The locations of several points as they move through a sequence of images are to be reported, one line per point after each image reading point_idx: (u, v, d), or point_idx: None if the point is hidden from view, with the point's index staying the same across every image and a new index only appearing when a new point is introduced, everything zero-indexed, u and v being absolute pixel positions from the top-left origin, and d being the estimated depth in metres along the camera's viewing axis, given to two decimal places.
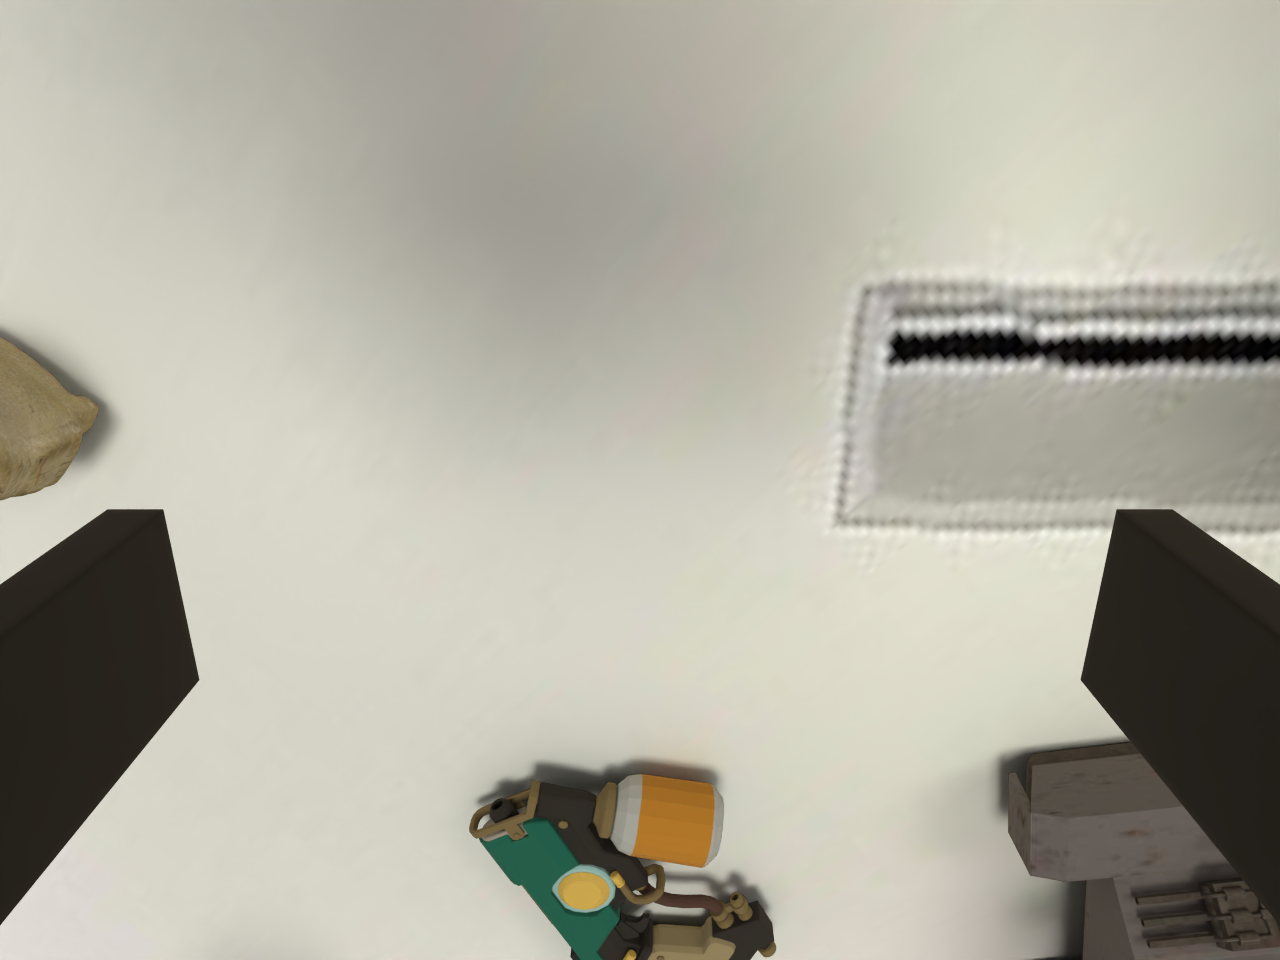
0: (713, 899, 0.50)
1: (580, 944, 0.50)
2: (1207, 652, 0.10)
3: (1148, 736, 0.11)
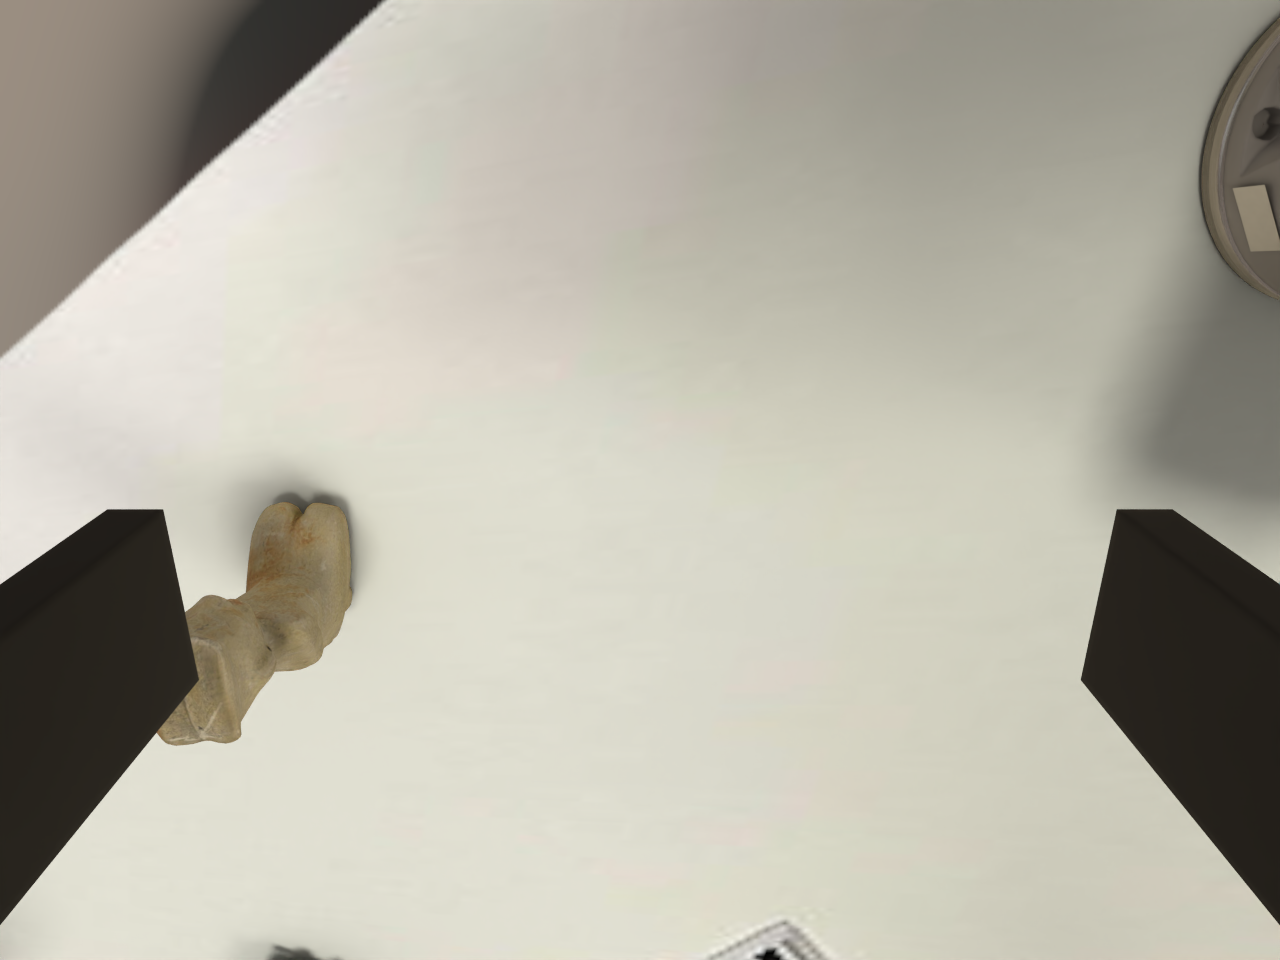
0: None
1: None
2: (1206, 652, 0.10)
3: (1148, 736, 0.11)
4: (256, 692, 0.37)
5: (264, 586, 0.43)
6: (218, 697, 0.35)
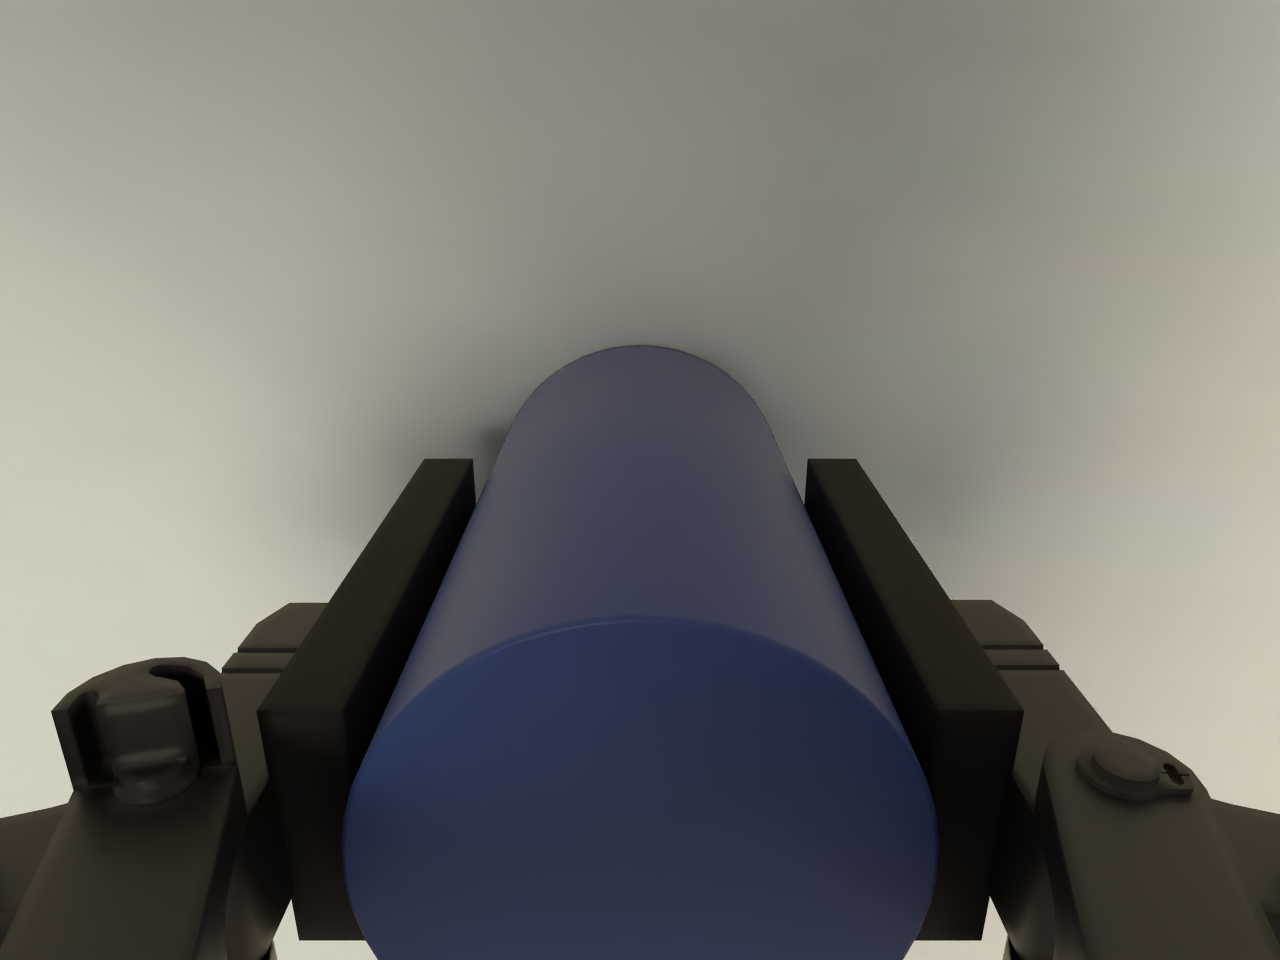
0: None
1: None
2: (834, 570, 0.12)
3: None
4: None
5: None
6: None
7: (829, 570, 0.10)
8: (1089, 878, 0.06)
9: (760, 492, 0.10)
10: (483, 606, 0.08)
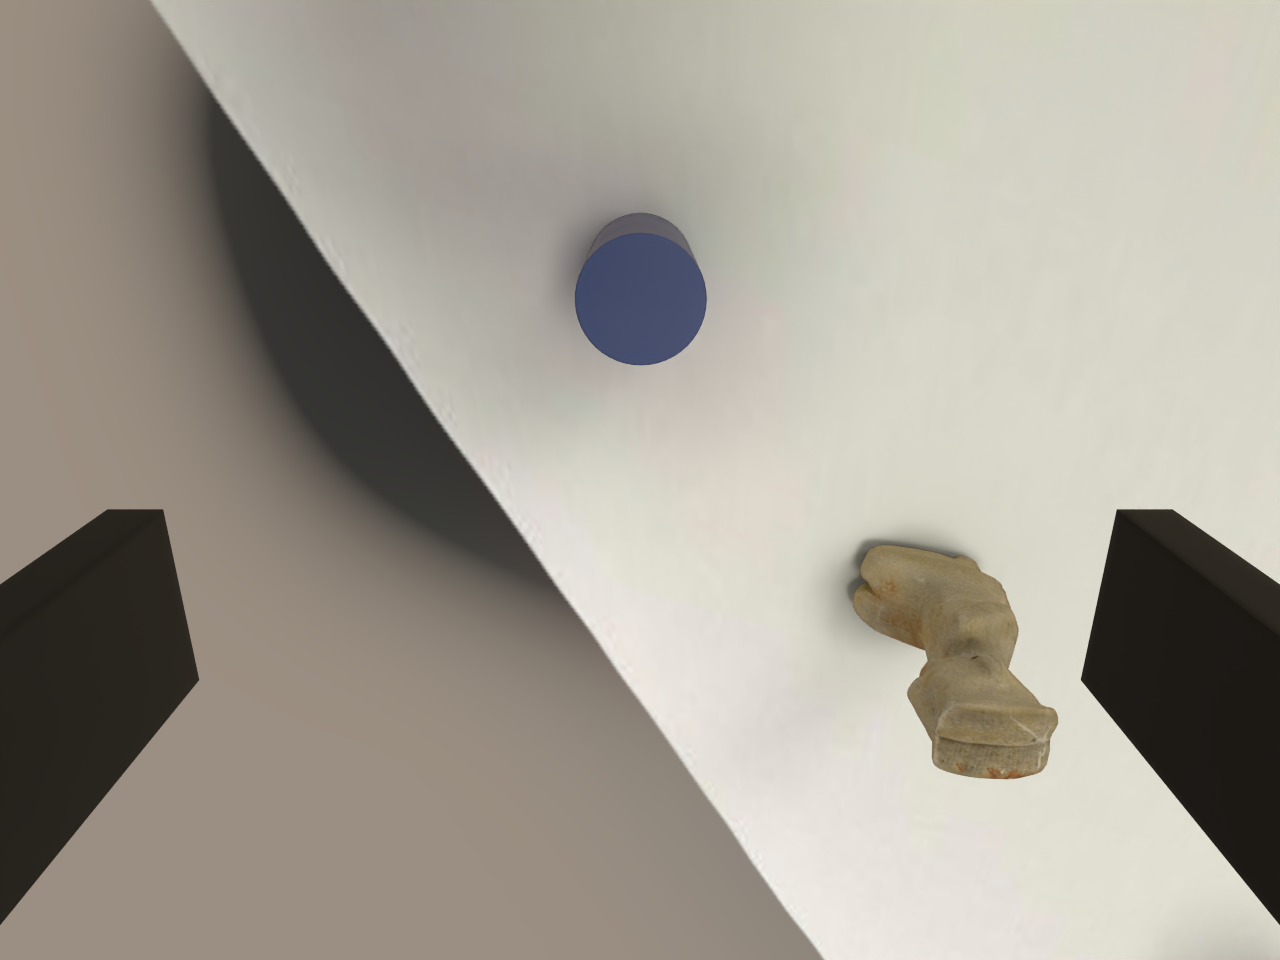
0: None
1: None
2: (1206, 652, 0.10)
3: (1148, 736, 0.11)
4: (1015, 681, 0.37)
5: (925, 637, 0.45)
6: (1004, 718, 0.36)
7: (691, 253, 0.37)
8: None
9: (673, 234, 0.38)
10: (606, 240, 0.35)
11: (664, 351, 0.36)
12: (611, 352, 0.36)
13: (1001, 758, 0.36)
